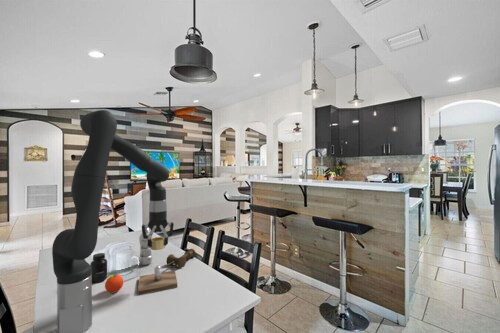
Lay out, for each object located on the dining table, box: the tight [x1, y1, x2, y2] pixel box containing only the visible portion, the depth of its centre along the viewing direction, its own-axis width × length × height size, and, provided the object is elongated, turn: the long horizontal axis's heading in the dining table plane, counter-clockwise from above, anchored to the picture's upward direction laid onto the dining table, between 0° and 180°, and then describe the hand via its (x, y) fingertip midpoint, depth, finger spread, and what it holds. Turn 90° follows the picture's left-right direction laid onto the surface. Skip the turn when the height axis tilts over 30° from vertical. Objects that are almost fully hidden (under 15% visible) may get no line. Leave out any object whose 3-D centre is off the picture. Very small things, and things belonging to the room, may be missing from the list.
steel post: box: [153, 265, 162, 281], centre depth 107 cm, size 3×3×6 cm
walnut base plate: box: [137, 269, 178, 296], centre depth 107 cm, size 14×16×2 cm
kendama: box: [166, 248, 196, 269], centre depth 128 cm, size 6×10×20 cm
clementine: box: [104, 274, 124, 294], centre depth 100 cm, size 8×7×7 cm
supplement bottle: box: [89, 252, 108, 284], centre depth 110 cm, size 7×7×12 cm
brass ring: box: [151, 236, 166, 251], centre depth 106 cm, size 6×6×4 cm
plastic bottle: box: [138, 227, 153, 266], centre depth 126 cm, size 6×7×20 cm
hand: (158, 245), depth 106 cm, fingers closed on brass ring, 6 cm apart
